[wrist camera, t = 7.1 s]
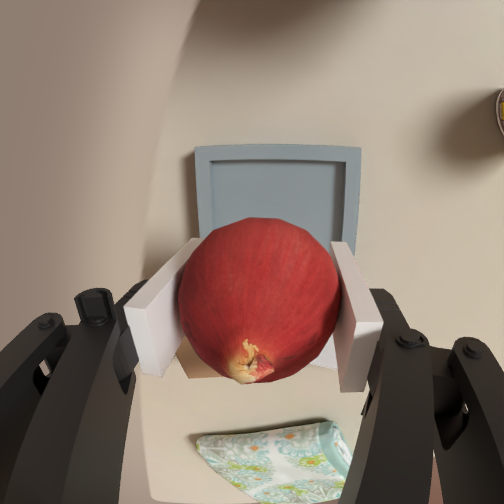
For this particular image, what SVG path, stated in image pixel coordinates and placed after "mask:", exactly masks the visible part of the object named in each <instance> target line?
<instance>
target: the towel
mask: <svg viewBox="0 0 504 504" xmlns="http://www.w3.org/2000/svg"><path fill="white" fill-rule="evenodd" d="M196 449H197V451H198V453H199V454H200V456H201V457H202V458H203V459H205V460H206V462H207V464H208V465H209V467H210V468H212V469H213V470H214V471H215V472H216V473H218V474H219V475H221V476H222V477H223V478H225V479H226V480H228V481H229V482H230V483H231V484H232V485H234V486H235V487H236V488H238V489H239V490H240V491H242V492H243V493H245V494H246V495H248V496H250V497H251V498H253V499H255V500H256V501H258V502H259V503H262V504H312V503H318V502H324V501H329V500H333V499H337V498H340V496H341V493H342V490H343V487H344V484H345V481H346V477H347V474H348V471H349V468H350V464H351V461H352V457H353V455H352V453H351V451H350V449H349V447H348V444H347V442H346V441H345V439H344V437H343V435H342V433H341V431H340V429H339V428H338V426H337V425H336V423H334V422H333V421H328V422H322V423H315V424H308V425H302V426H295V427H288V428H282V429H275V430H268V431H262V432H256V433H247V434H233V435H208V436H204V437H200V438H199V439H198V440H197V441H196Z"/></svg>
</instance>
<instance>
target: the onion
mask: <svg viewBox="0 0 504 504" xmlns="http://www.w3.org/2000/svg"><path fill="white" fill-rule="evenodd" d="M341 297H342V291H341V284H340V280H339V277H338V275H337V272H336V269H335V266H334V264H333V261H332V258H331V256H330V255H329V253H328V252H327V250H326V249H325V248H324V247H323V246H322V245H321V244H320V243H319V242H318V241H317V240H316V239H315V238H314V237H313V236H312V235H311V234H310V233H309V232H308V231H307V230H305V229H303V228H300V227H298V226H296V225H293V224H291V223H289V222H286V221H284V220H281V219H279V218H257V217H248V218H245V219H243V220H240V221H237V222H234V223H231V224H229V225H226V226H223V227H220V228H218V229H215V230H213V231H212V232H211V233H210V234H209V235H208V236H207V237H206V238H205V239H204V240H203V241H202V242H201V244H200V245H199V246H198V247H197V248H196V249H195V250H194V251H193V252H192V254H191V256H190V258H189V259H188V261H187V264H186V267H185V270H184V273H183V277H182V280H181V283H180V286H179V292H178V304H179V312H180V320H181V325H182V328H183V332H184V333H185V335H186V337H187V339H188V341H189V342H190V344H191V346H192V348H193V350H194V351H195V353H196V354H197V356H198V357H199V358H200V359H201V360H202V361H203V362H204V363H206V364H207V365H208V366H210V367H211V368H212V369H214V370H215V371H216V372H218V373H219V374H220V375H222V376H224V377H227V378H231V379H234V380H235V381H237V382H238V383H240V384H251V383H265V382H273V381H276V380H279V379H282V378H285V377H289V376H291V375H293V374H295V373H297V372H298V371H300V370H301V369H302V368H304V367H305V366H306V365H308V364H309V363H310V362H312V361H313V360H314V359H316V358H317V357H318V356H319V355H320V353H321V352H322V350H323V348H324V347H325V345H326V343H327V342H328V340H329V338H330V337H331V335H332V333H333V332H334V330H335V327H336V323H337V319H338V314H339V308H340V303H341Z"/></svg>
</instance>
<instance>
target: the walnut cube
mask: <svg viewBox="0 0 504 504" xmlns="http://www.w3.org/2000/svg"><path fill="white" fill-rule="evenodd" d="M175 354H176V356H177V358H178V360H179V362H180V364H181V366H182V368H183V369H184V371H185V373H186V375H187V377H188V378H208V377H223V376H222V375H220V374H219V373H218V372H216V371H215V370H214V369H212V368H211V367H210V366H208V365H207V364H206V363H204V362H203V361H202V360H201V359H200V358H199V357H198V356H197V354H196V353H195V351H194V350H193V348H192V346H191V344H190V342H189V341H188V339H187V337H186V335H185V336H184V338H183V340H182V342H181V344H180V346H179V347H178V349H177V351H176V353H175Z"/></svg>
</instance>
